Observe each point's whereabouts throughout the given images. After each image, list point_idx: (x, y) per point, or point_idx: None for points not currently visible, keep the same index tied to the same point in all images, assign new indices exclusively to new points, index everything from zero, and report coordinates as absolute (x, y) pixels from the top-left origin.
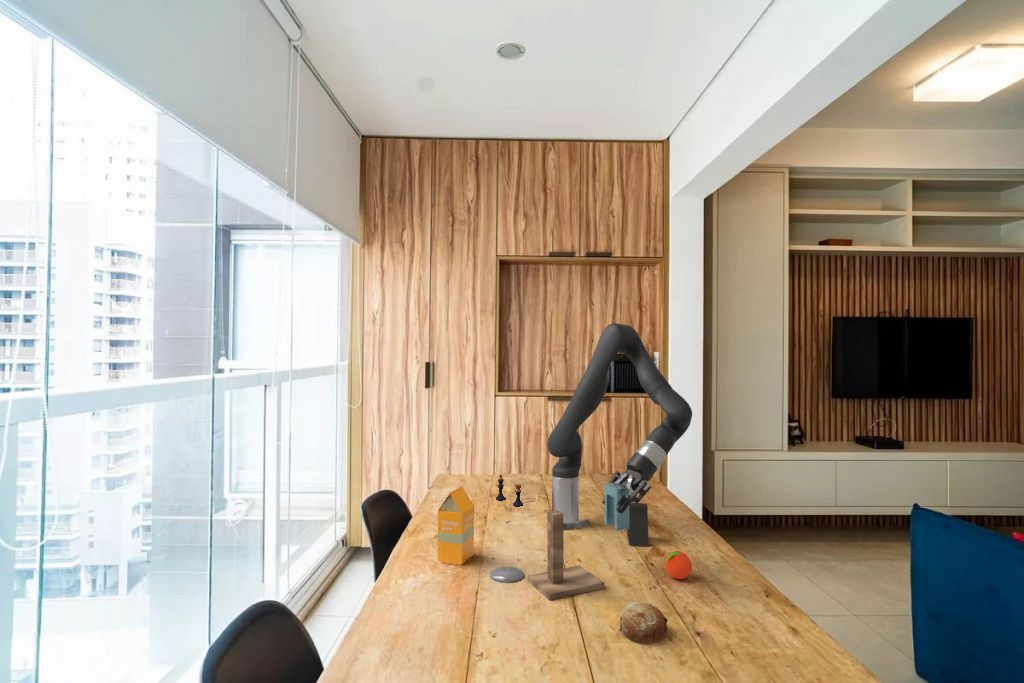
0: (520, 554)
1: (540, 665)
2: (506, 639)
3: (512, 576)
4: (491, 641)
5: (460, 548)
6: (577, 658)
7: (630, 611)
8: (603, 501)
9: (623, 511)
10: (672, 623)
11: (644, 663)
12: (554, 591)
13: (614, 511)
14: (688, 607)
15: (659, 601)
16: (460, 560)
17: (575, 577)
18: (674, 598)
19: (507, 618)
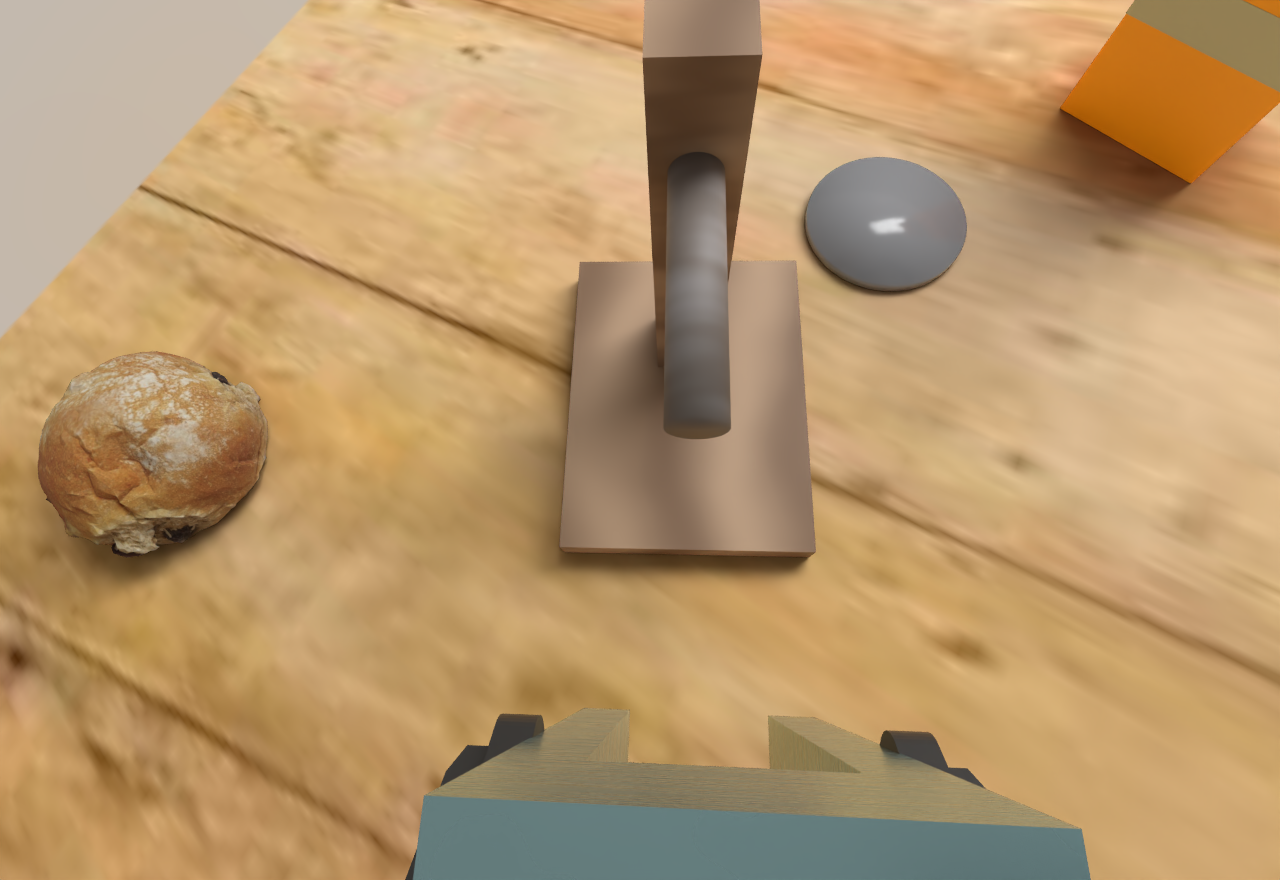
0: (1138, 379)
1: (262, 98)
2: (428, 71)
3: (844, 226)
4: (443, 37)
5: (1114, 33)
6: (220, 189)
7: (127, 365)
8: (900, 739)
9: None
10: (139, 616)
11: (60, 339)
12: (591, 289)
13: (610, 729)
14: (173, 818)
15: (307, 719)
16: (1075, 86)
17: (679, 444)
18: (280, 828)
19: (539, 111)
